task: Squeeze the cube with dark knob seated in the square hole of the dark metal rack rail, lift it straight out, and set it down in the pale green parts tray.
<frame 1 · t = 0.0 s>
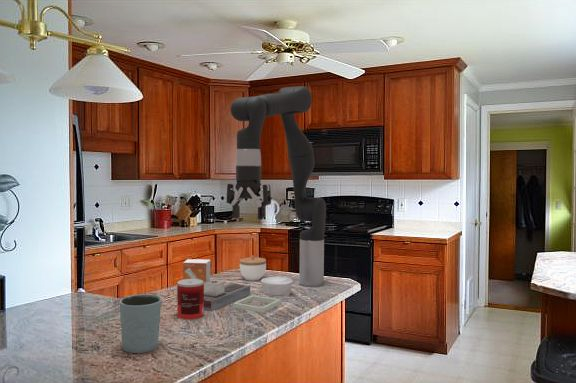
hand: (248, 218, 147), 29 cm above the countertop, tool pointing down, fingers open, 8 cm apart
canned food: (190, 319, 145), on the countertop
cube with dark knob: (214, 303, 157), point 1 cm above the countertop, touching rack rail
small box: (196, 299, 167), on the countertop
rack rail: (221, 303, 161), on the countertop
ramekin: (276, 295, 173), on the countertop
parts tray: (257, 308, 156), on the countertop
grey-green cup: (141, 347, 122), on the countertop
lidded jar: (252, 279, 196), on the countertop
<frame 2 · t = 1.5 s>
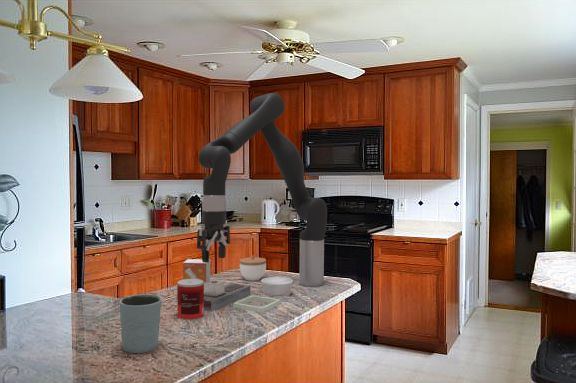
hand: (213, 260, 157), 15 cm above the countertop, tool pointing down, fingers open, 8 cm apart
nothing on the countertop moved.
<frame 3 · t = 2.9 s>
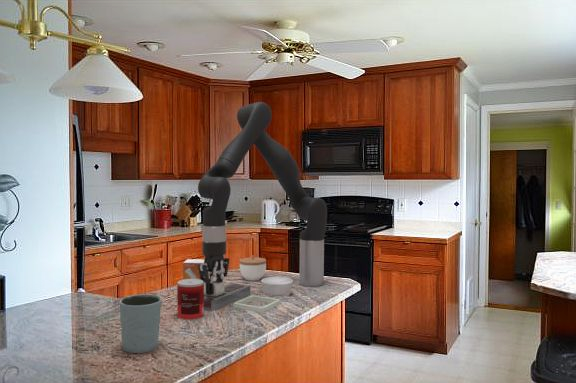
hand: (214, 292, 157), 5 cm above the countertop, tool pointing down, fingers closed on cube with dark knob, 4 cm apart
cube with dark knob: (214, 303, 157), point 1 cm above the countertop, touching gripper, rack rail
everything else where it was.
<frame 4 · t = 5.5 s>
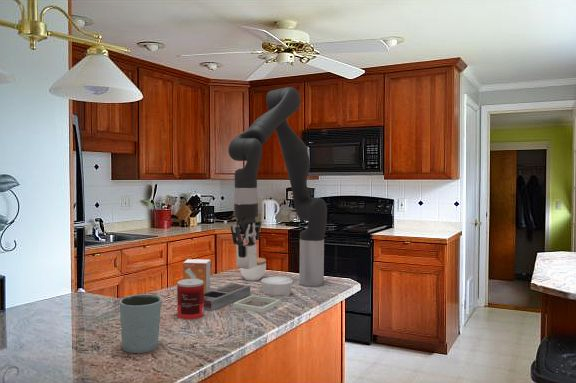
hand: (246, 255, 156), 17 cm above the countertop, tool pointing down, fingers closed on cube with dark knob, 4 cm apart
cube with dark knob: (246, 266, 156), point 13 cm above the countertop, touching gripper
everything else where it was.
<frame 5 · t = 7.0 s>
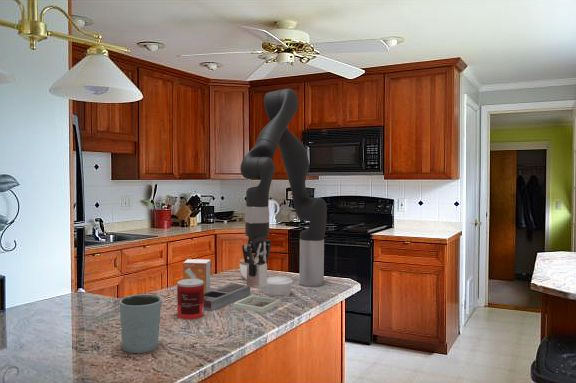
hand: (256, 274, 155), 11 cm above the countertop, tool pointing down, fingers closed on cube with dark knob, 4 cm apart
cube with dark knob: (256, 285, 155), point 7 cm above the countertop, touching gripper
everything else where it was.
when the fingers open (6 cm above the countertop, at t = 8.4 s): cube with dark knob drops 1 cm, resting on parts tray.
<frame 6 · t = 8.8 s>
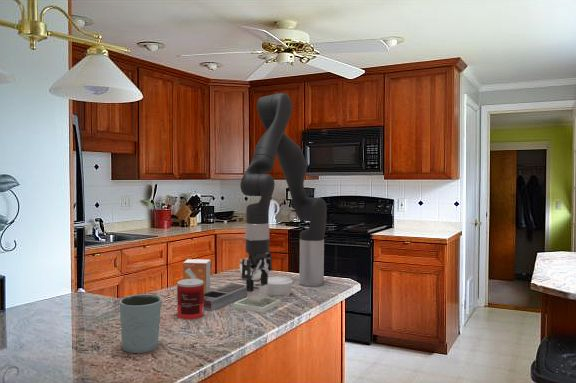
hand: (257, 288, 155), 6 cm above the countertop, tool pointing down, fingers open, 8 cm apart
cube with dark knob: (257, 306, 156), point 1 cm above the countertop, touching parts tray
everything else where it was.
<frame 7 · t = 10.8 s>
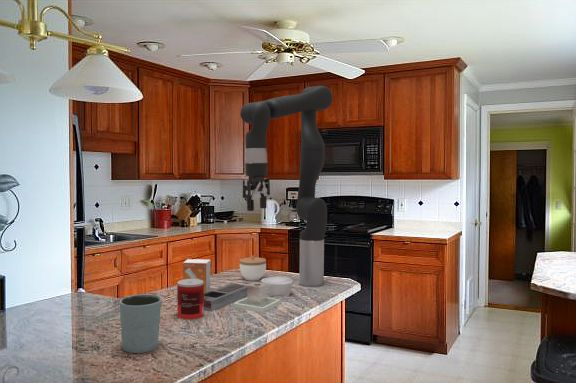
hand: (257, 209, 167), 30 cm above the countertop, tool pointing down, fingers open, 8 cm apart
nothing on the countertop moved.
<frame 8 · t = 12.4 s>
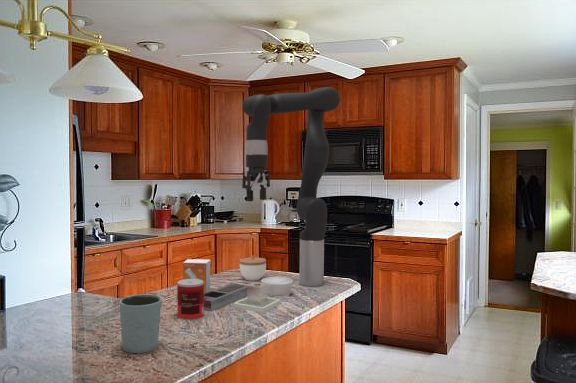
hand: (256, 200, 170), 33 cm above the countertop, tool pointing down, fingers open, 8 cm apart
nothing on the countertop moved.
at the end: cube with dark knob inside the target area on the parts tray (0.0 cm from its centre), point 0.6 cm above the parts tray's base; cube with dark knob touching parts tray; the gripper is holding nothing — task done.
